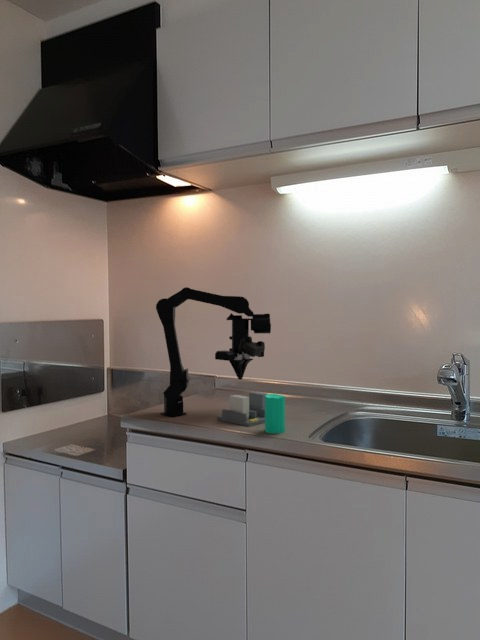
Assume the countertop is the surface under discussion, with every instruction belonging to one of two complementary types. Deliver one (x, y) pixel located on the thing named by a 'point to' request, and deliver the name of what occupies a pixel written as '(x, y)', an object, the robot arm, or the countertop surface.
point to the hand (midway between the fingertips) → (240, 379)
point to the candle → (274, 413)
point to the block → (239, 404)
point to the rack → (254, 411)
